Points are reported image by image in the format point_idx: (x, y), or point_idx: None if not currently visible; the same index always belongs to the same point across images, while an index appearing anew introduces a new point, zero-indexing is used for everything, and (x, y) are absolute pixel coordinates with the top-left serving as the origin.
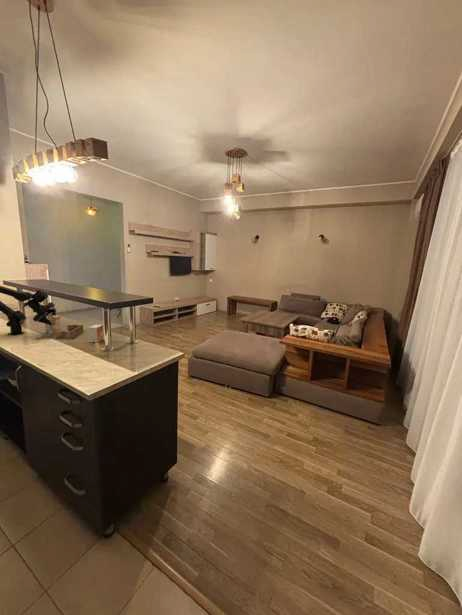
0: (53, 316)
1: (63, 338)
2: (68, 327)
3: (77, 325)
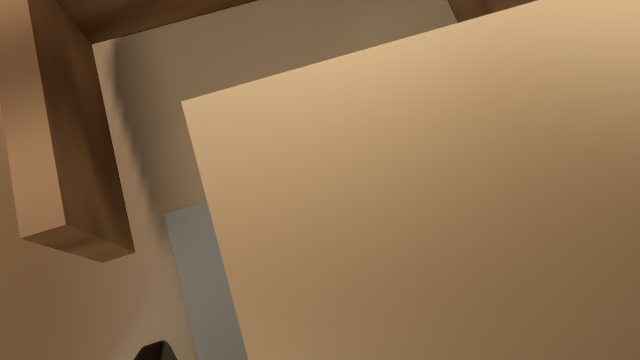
0: (612, 245)
1: None
2: (93, 216)
3: (31, 15)
